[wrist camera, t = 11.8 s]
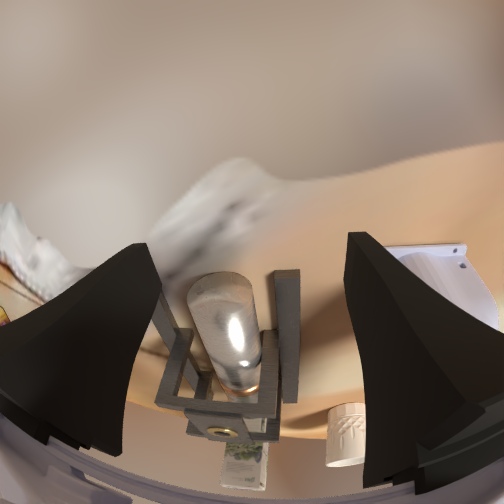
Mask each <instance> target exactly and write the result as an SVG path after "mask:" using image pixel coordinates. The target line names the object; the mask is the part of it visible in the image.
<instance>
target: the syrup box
mask: <svg viewBox="0 0 504 504" xmlns="http://www.w3.org/2000/svg"><path fill="white" fill-rule="evenodd" d="M243 419H244V422H245V424H246V426H247V428H248V430H249V432H261V433H266V421H267V418H256V419H245V418H243ZM268 452H269V443H263V442H254V444H242V443H230V442H226V448H225V454H224V460H223V466H222V472H221V479H220V484H221V485H222V486H224V487H225V488H230V489H240V490H255V491H264V490H265V484H266V474H267V463H268Z"/></svg>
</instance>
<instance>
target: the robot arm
mask: <svg viewBox="0 0 504 504" xmlns="http://www.w3.org/2000/svg"><path fill="white" fill-rule="evenodd" d="M454 249H455V250H454ZM466 251H467V246H466V245H465V244H464V243H460V244H437V245H414V246H391V247H383V246H382V245H381V244H380V243H378V242H377V241H376V240H375V239H374V238H373V237H372V236H370V235H369V234H368V233H367V232H348V241H347V252H346V262H345V271H344V279H343V280H344V287H345V294H346V301H347V306H348V310H349V314H350V318H351V322H352V326H353V330H354V333H355V337H356V342H357V346H358V350H359V354H360V359H361V364H362V371H363V381H364V393H365V414H366V441H365V459H364V471H363V488H369V487H375V486H379V485H384V484H388V483H393V486H392V487H387V488H383V489H378V490H374V491H368V492H363V493H357V494H350V495H342V496H334V497H324V498H309V499H261V498H247V497H236V496H228V495H220V494H213V493H207V492H202V491H196V490H191V489H186V488H182V487H178V486H173V485H169V484H165V483H162V482H158V481H155V480H151V479H148V478H145V477H142V476H139V475H135V474H133V473H130V472H127V471H124V470H122V469H119V468H116V467H114V466H111V465H109V464H106V463H104V462H102V461H99V460H97V459H95V458H93V457H90V456H88V455H86V454H84V453H82V452H80V451H79V448H80V446H81V447H83V448H85V449H87V450H89V449H90V447H92V448H95V449H97V450H99V451H101V452H104V453H106V454H109V455H111V456H114V457H117V456H119V455H120V454H122V429H123V418H124V409H125V401H126V396H127V390H128V385H129V380H130V376H131V372H132V368H133V364H134V361H135V358H136V355H137V352H138V350H139V347H140V345H141V342H142V340H143V337H144V335H145V332H146V330H147V328H148V325H149V323H150V320H151V318H152V316H153V313H154V311H155V308H156V305H157V302H158V298H159V295H160V291H161V287H162V283H161V281H160V278H159V276H158V273H157V271H156V268H155V265H154V263H153V260H152V258H151V255H150V252H149V250H148V247H147V244H146V243H136V244H131V245H130V246H128V247H126V248H124V249H123V250H121V251H120V252H118V253H117V254H115V255H114V256H112V257H111V258H109V259H108V260H107V261H105V262H104V263H103V264H101V265H100V266H98V267H97V268H96V269H94V270H93V271H92V272H90V273H89V274H88V275H86V276H85V277H84V278H82V279H81V280H79V281H78V282H77V283H75V284H74V285H73V286H71V287H70V288H68V289H67V290H66V291H64V292H63V293H61V294H60V295H58V296H57V297H55V298H53V299H52V300H50V301H49V302H47V303H46V304H44V305H42V306H40V307H39V308H37V309H35V310H33V311H31V312H30V313H28V314H26V315H24V316H22V317H20V318H18V319H16V320H14V321H12V322H10V323H7V324H5V325H3V326H0V493H1V495H2V497H3V499H2V498H0V504H132V501H133V500H132V499H131V497H129V496H127V495H125V494H123V493H121V492H118V491H116V490H114V489H111V488H109V487H106V486H103V485H100V484H98V483H95V482H92V481H90V480H87V479H86V478H85V476H84V473H86V474H87V475H89V476H92V477H94V478H96V479H98V480H100V481H102V482H104V483H107V484H109V485H112V486H113V487H116V488H118V489H121V490H123V491H126V492H128V493H131V494H134V495H137V496H139V497H142V498H146V499H148V500H151V501H155V502H158V503H161V504H504V333H502V332H500V331H498V329H499V315H498V309H497V305H496V302H495V300H494V298H493V296H492V294H491V293H490V291H489V290H488V288H487V287H486V285H485V284H484V282H483V281H482V279H481V278H480V276H479V275H478V273H477V272H476V270H475V269H474V268H473V266H472V265H471V263H470V262H469V261H468V259H467V258H466V257H465V254H466ZM83 472H84V473H83Z"/></svg>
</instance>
